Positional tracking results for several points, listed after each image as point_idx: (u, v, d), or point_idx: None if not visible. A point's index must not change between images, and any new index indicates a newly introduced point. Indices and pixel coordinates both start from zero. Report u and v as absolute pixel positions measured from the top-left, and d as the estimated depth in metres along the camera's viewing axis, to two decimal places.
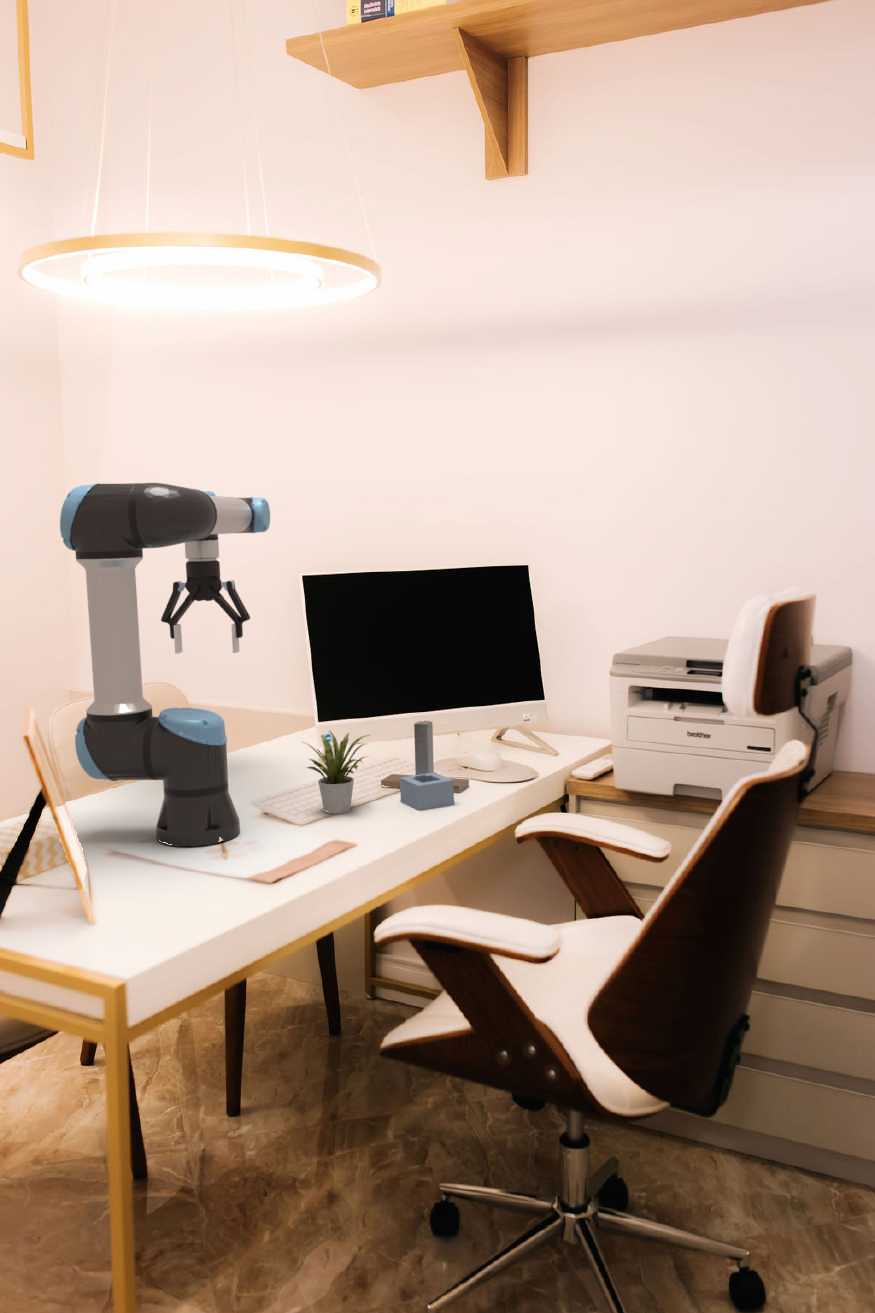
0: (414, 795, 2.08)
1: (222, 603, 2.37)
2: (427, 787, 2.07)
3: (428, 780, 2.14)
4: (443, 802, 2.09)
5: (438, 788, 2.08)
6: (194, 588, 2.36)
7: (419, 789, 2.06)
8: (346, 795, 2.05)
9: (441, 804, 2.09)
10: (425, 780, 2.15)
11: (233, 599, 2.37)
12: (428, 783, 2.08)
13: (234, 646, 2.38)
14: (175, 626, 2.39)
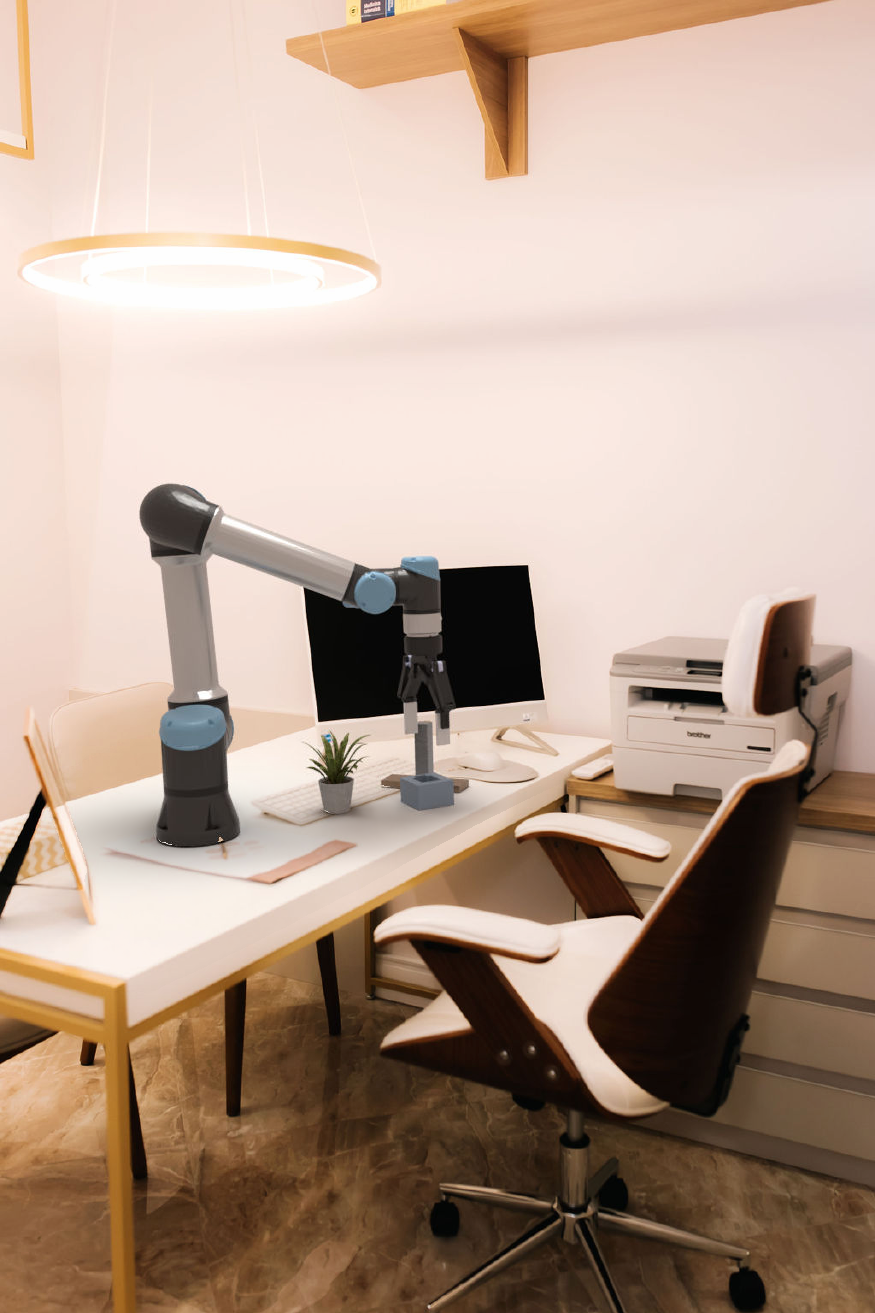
0: (414, 795, 2.08)
1: (430, 686, 2.04)
2: (427, 787, 2.07)
3: (428, 780, 2.14)
4: (443, 802, 2.09)
5: (438, 788, 2.08)
6: (411, 665, 2.09)
7: (419, 789, 2.06)
8: (346, 795, 2.05)
9: (441, 804, 2.09)
10: (425, 780, 2.15)
11: (436, 684, 2.02)
12: (428, 783, 2.08)
13: (437, 738, 2.04)
14: (404, 704, 2.15)
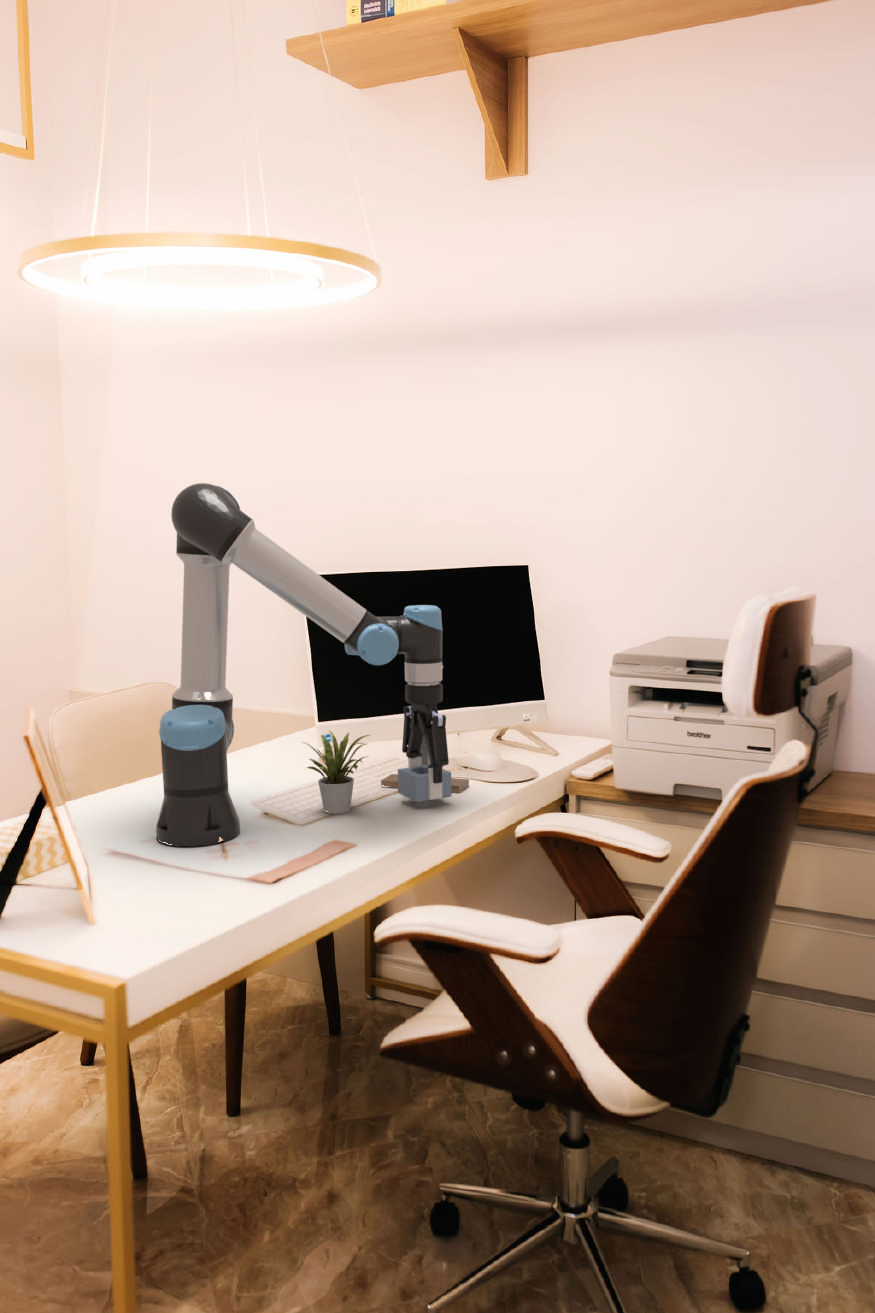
0: (411, 786, 2.08)
1: (427, 738, 2.07)
2: (425, 779, 2.07)
3: (426, 772, 2.14)
4: None
5: None
6: (412, 714, 2.10)
7: (417, 780, 2.06)
8: (346, 795, 2.05)
9: None
10: (423, 772, 2.14)
11: (433, 738, 2.04)
12: (426, 775, 2.07)
13: (429, 792, 2.07)
14: (409, 760, 2.14)
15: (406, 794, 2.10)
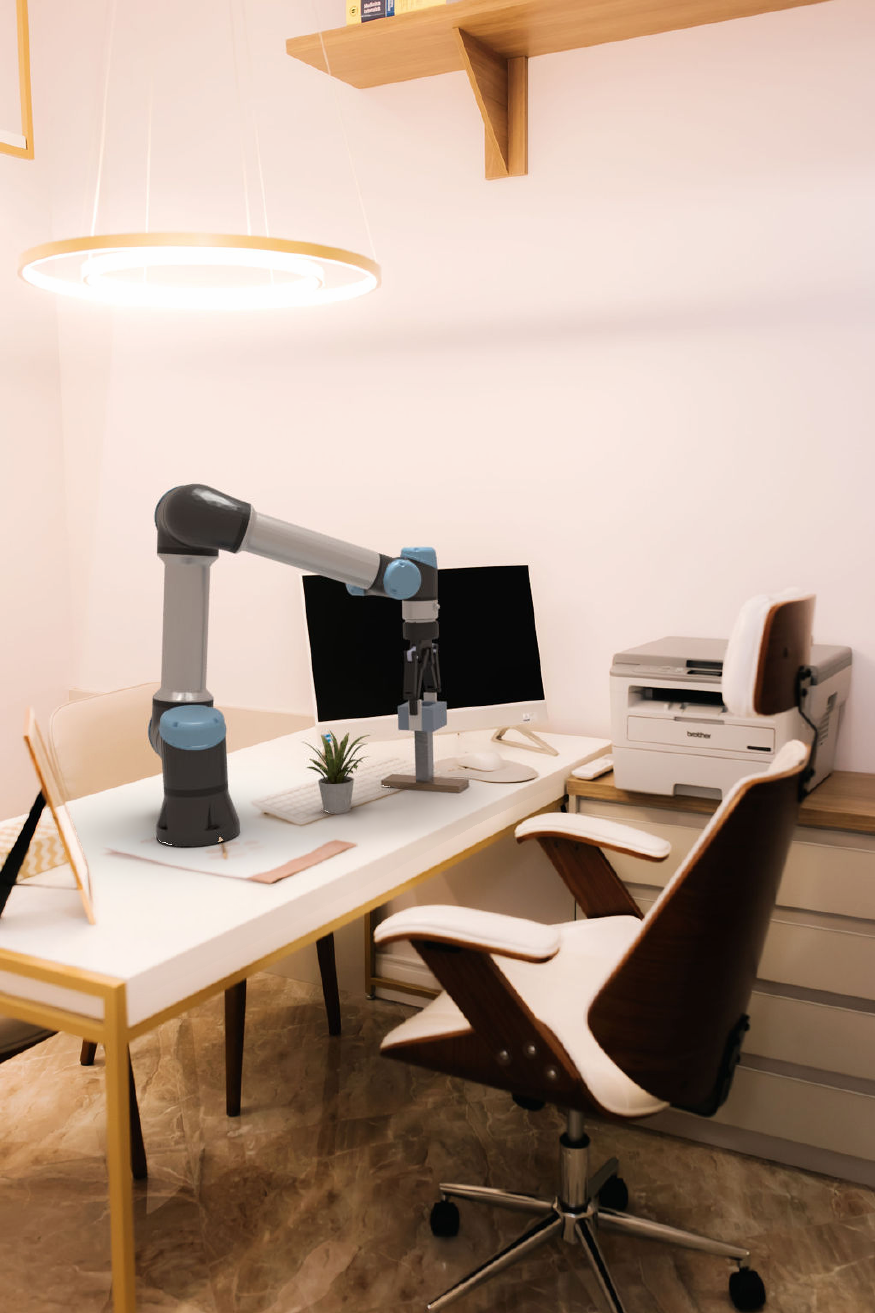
0: None
1: None
2: (407, 710, 2.20)
3: None
4: (422, 727, 2.19)
5: None
6: None
7: (398, 710, 2.21)
8: (346, 795, 2.05)
9: None
10: None
11: None
12: None
13: None
14: None
15: None
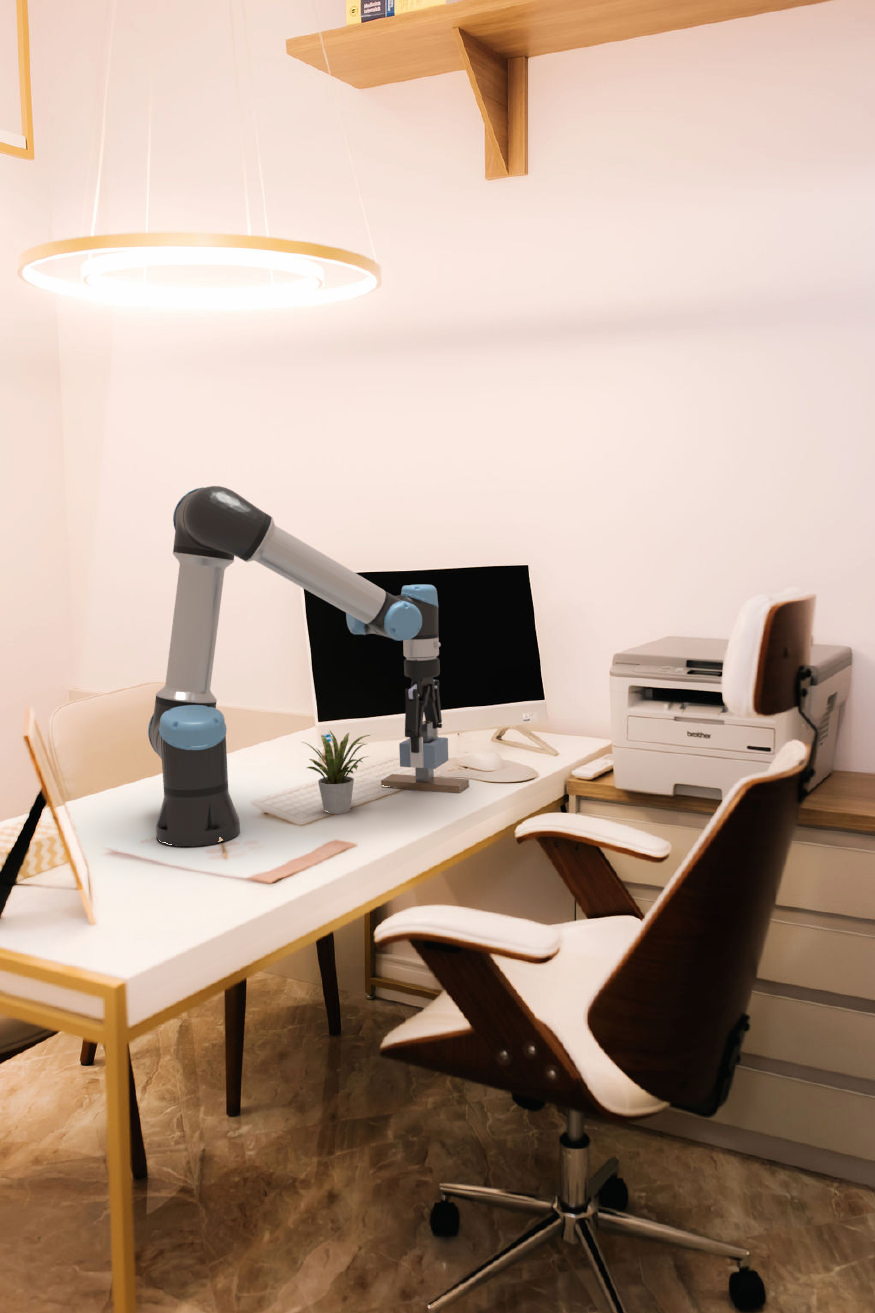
0: None
1: None
2: (408, 747, 2.21)
3: None
4: (424, 764, 2.20)
5: None
6: None
7: (400, 747, 2.22)
8: (346, 795, 2.05)
9: None
10: None
11: None
12: None
13: None
14: None
15: None
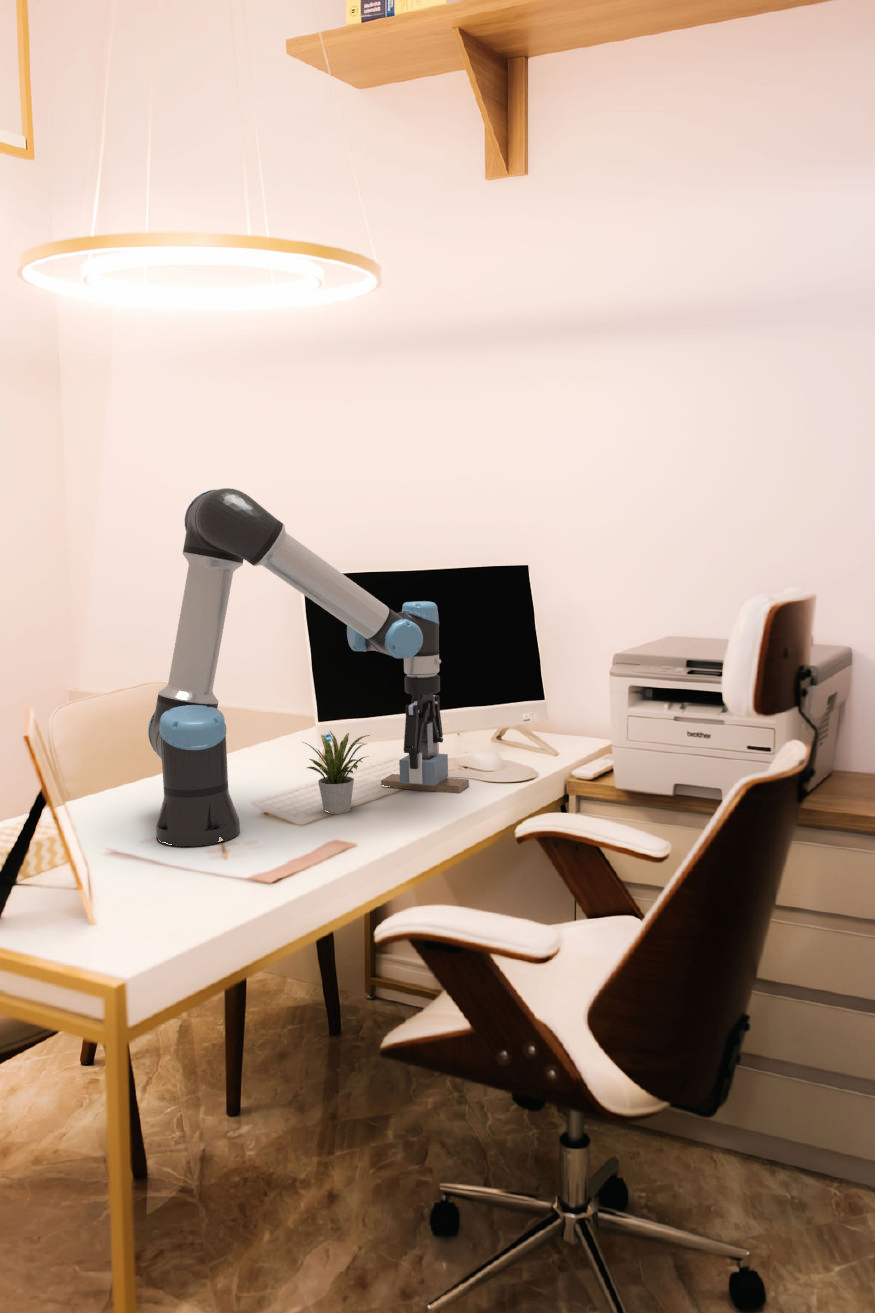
0: None
1: None
2: (408, 763, 2.21)
3: None
4: (424, 781, 2.21)
5: None
6: None
7: (400, 763, 2.22)
8: (346, 795, 2.05)
9: None
10: None
11: None
12: None
13: None
14: None
15: None
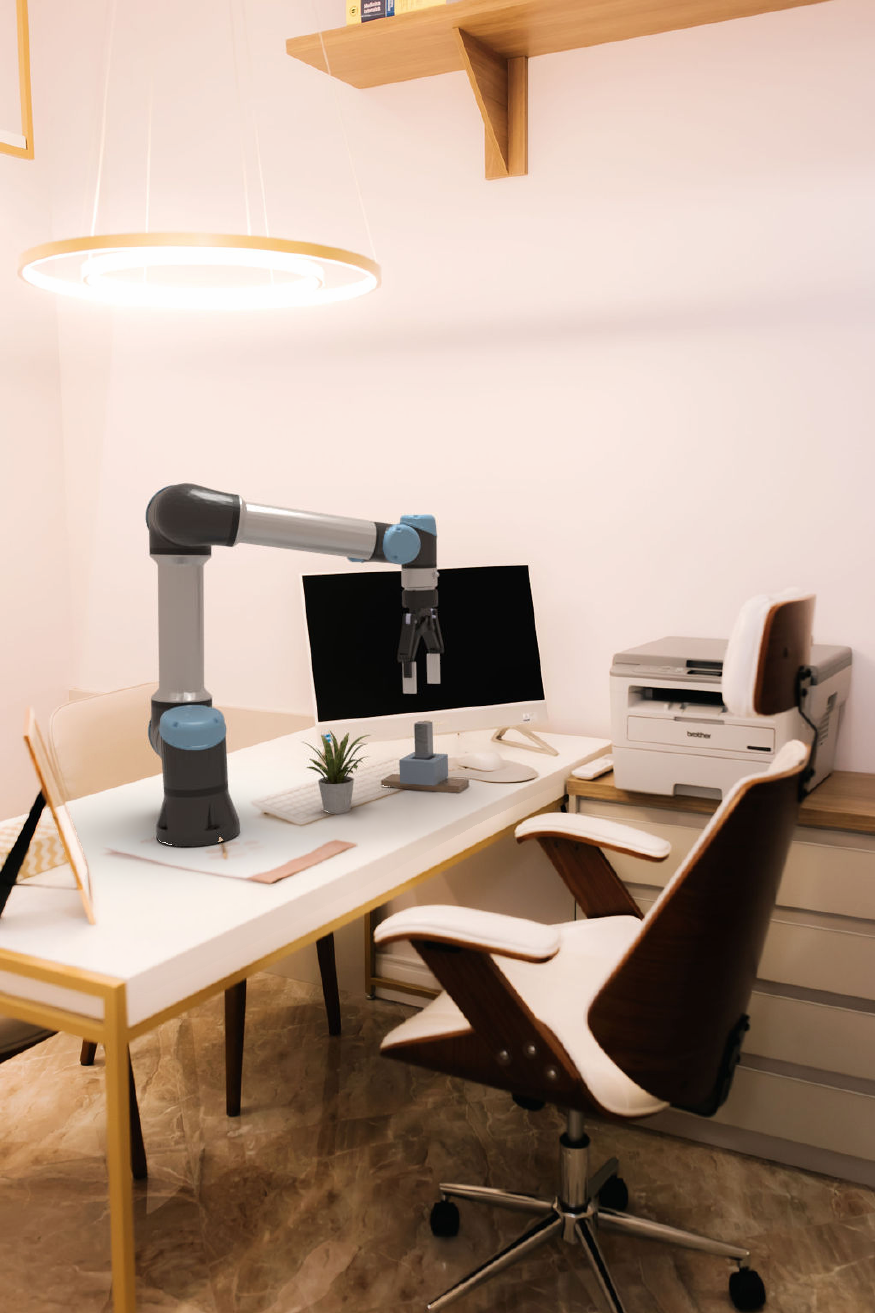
0: None
1: None
2: (408, 763, 2.21)
3: None
4: (424, 781, 2.21)
5: (419, 766, 2.21)
6: None
7: (400, 763, 2.22)
8: (346, 795, 2.05)
9: (422, 782, 2.21)
10: None
11: None
12: (411, 760, 2.22)
13: None
14: None
15: None
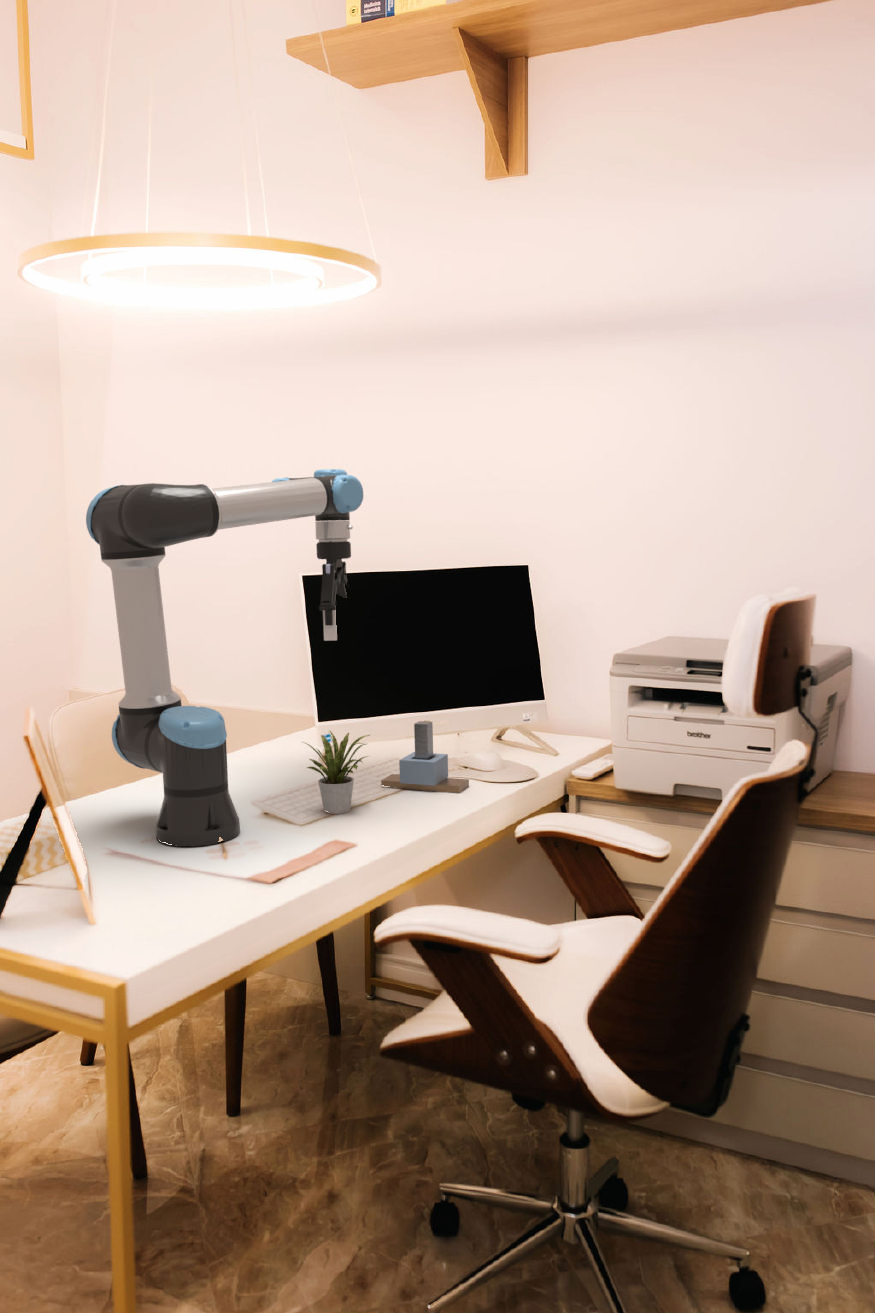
0: None
1: None
2: (408, 763, 2.21)
3: None
4: (424, 781, 2.21)
5: (419, 766, 2.21)
6: None
7: (400, 763, 2.22)
8: (346, 795, 2.05)
9: (422, 782, 2.21)
10: None
11: None
12: (411, 760, 2.22)
13: None
14: None
15: None
